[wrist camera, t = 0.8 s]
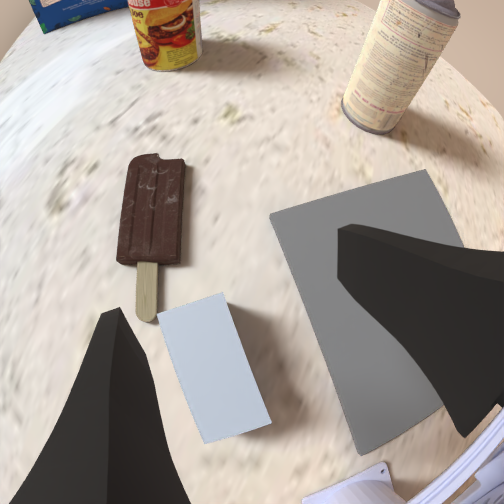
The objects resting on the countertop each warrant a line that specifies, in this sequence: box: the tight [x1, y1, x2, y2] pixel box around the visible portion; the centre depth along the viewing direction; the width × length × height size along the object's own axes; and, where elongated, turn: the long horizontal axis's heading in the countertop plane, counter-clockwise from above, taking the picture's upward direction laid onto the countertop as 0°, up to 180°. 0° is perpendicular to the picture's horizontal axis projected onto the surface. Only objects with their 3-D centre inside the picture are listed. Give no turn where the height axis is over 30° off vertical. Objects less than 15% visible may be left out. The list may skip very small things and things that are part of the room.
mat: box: [269, 169, 464, 456], centre depth 24 cm, size 22×18×1 cm
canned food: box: [128, 0, 203, 72], centre depth 26 cm, size 8×8×12 cm
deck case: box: [157, 292, 272, 444], centre depth 20 cm, size 9×4×5 cm, turn 20°
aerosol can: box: [341, 0, 461, 134], centre depth 21 cm, size 7×7×20 cm
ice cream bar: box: [116, 153, 185, 322], centre depth 25 cm, size 5×2×15 cm
